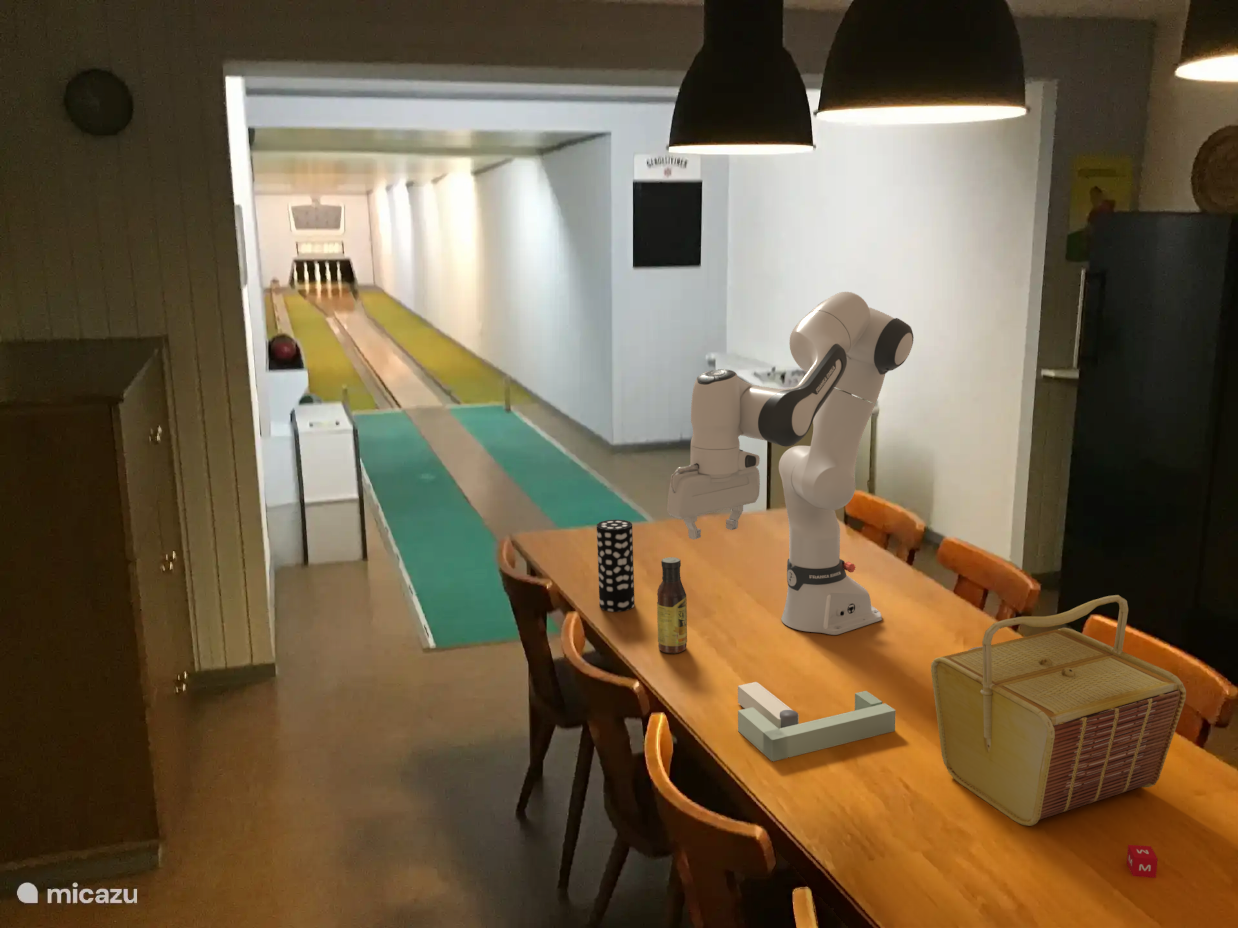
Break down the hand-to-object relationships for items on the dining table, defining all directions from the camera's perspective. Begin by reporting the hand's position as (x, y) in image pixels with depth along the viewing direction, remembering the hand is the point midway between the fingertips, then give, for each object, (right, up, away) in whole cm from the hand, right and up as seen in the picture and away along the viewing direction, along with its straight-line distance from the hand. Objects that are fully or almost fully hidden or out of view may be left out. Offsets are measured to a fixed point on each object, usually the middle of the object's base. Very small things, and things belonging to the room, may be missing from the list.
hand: (713, 533), depth 196 cm
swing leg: (+10, -34, -2) cm, 36 cm away
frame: (+18, -35, -6) cm, 40 cm away
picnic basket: (+51, -39, -25) cm, 69 cm away
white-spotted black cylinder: (-18, -21, +57) cm, 63 cm away
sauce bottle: (-6, -27, +31) cm, 42 cm away
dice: (+55, -44, -48) cm, 85 cm away
